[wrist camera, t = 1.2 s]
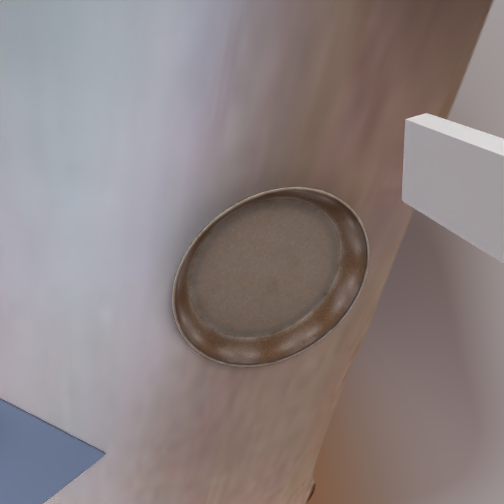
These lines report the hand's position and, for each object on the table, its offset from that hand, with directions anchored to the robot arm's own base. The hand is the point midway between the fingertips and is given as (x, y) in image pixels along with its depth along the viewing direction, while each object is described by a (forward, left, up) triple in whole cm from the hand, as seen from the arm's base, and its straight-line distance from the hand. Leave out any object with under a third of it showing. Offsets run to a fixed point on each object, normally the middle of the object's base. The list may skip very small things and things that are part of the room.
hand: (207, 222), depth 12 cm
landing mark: (+21, -34, -25) cm, 47 cm away
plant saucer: (+22, 0, -25) cm, 33 cm away
